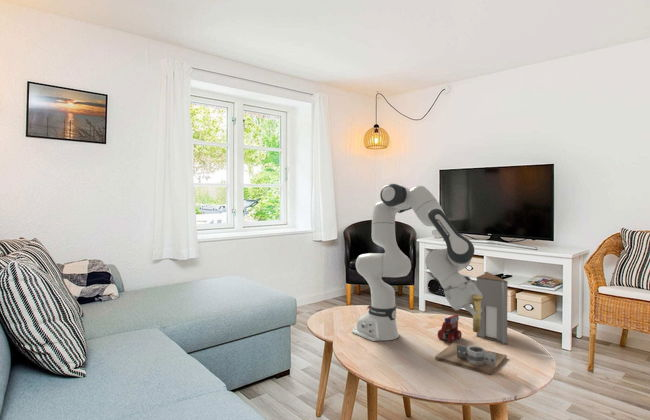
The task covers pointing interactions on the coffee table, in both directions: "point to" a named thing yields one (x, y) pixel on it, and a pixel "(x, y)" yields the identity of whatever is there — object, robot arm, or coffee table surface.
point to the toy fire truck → (450, 329)
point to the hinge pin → (477, 307)
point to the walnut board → (451, 357)
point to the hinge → (476, 355)
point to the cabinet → (493, 307)
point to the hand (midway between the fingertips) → (478, 313)
